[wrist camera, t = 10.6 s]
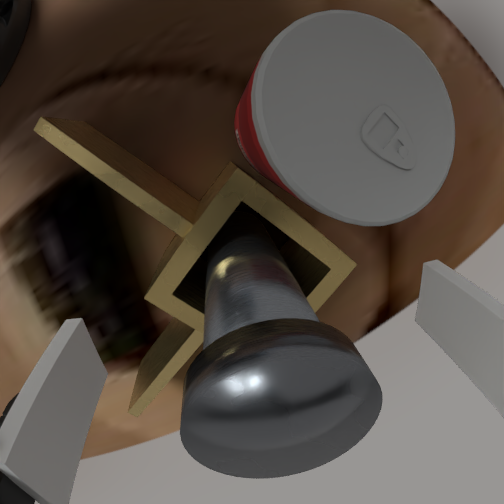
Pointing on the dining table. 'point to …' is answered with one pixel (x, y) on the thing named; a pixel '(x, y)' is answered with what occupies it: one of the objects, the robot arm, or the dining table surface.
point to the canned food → (348, 118)
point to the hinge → (193, 242)
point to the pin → (269, 368)
